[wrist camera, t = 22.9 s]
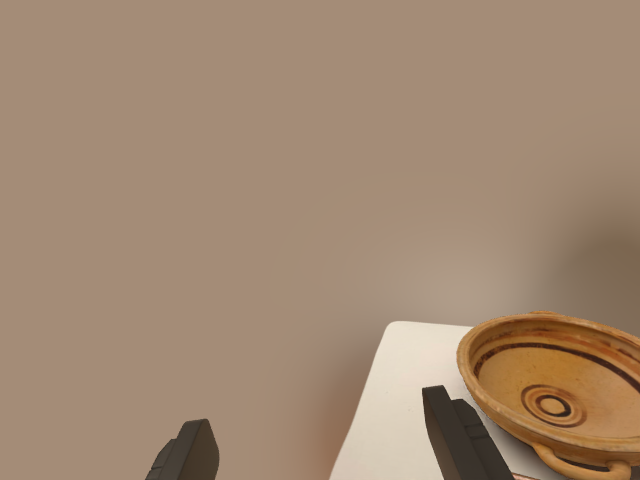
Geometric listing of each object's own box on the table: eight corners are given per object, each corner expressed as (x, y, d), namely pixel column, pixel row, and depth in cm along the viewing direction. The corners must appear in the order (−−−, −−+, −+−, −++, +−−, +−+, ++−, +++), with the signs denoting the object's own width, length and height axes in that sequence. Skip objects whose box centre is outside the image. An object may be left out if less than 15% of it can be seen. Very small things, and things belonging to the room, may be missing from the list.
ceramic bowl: (465, 338, 62) (463, 300, 60) (638, 356, 51) (644, 309, 48) (449, 491, 37) (444, 435, 35) (781, 592, 26) (804, 520, 24)
